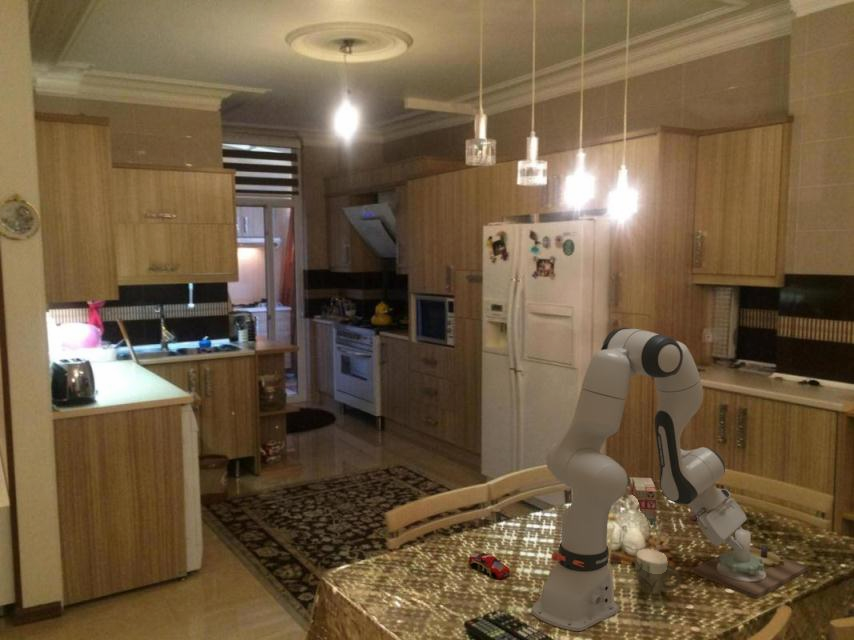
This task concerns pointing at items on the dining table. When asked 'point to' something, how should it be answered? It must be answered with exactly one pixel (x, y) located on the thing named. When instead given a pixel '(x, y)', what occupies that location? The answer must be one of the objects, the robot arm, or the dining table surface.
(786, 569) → the gear board
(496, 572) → the race car
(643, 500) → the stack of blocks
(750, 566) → the loose gear
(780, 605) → the dining table surface
